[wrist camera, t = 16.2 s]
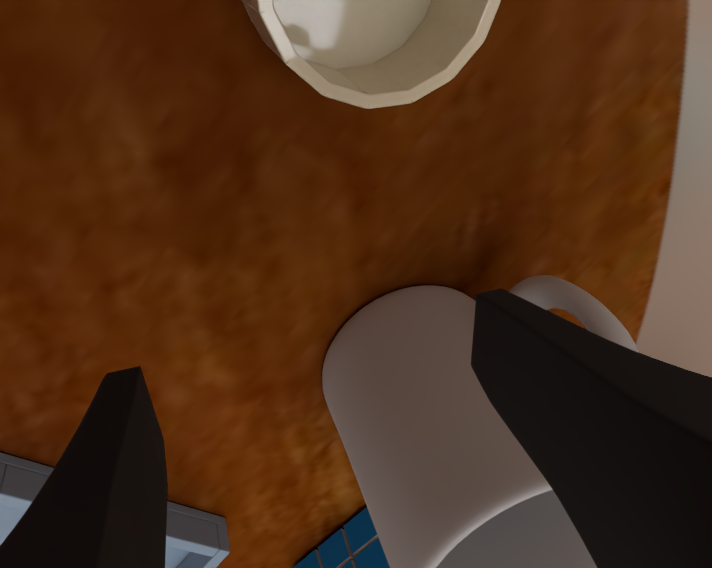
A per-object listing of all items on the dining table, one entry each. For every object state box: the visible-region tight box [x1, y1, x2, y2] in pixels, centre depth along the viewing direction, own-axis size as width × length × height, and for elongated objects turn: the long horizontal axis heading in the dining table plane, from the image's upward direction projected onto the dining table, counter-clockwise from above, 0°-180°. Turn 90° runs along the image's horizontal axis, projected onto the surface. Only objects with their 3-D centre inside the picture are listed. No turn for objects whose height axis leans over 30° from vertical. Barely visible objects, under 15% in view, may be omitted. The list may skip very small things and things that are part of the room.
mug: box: [322, 275, 639, 568], centre depth 22 cm, size 12×8×11 cm
